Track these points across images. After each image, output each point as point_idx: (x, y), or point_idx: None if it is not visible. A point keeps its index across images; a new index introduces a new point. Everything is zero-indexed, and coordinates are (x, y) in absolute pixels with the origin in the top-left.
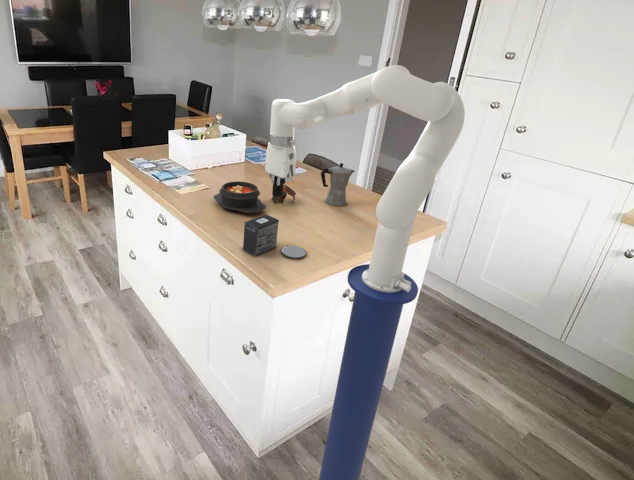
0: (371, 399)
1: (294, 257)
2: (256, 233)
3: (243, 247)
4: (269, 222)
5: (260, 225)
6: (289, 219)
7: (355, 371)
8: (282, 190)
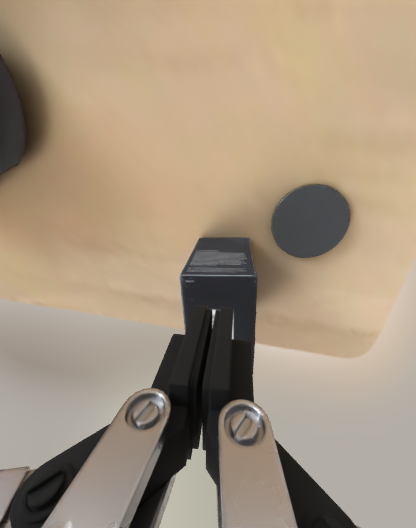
0: None
1: (332, 247)
2: None
3: None
4: (248, 319)
5: None
6: (108, 2)
7: None
8: (251, 359)
